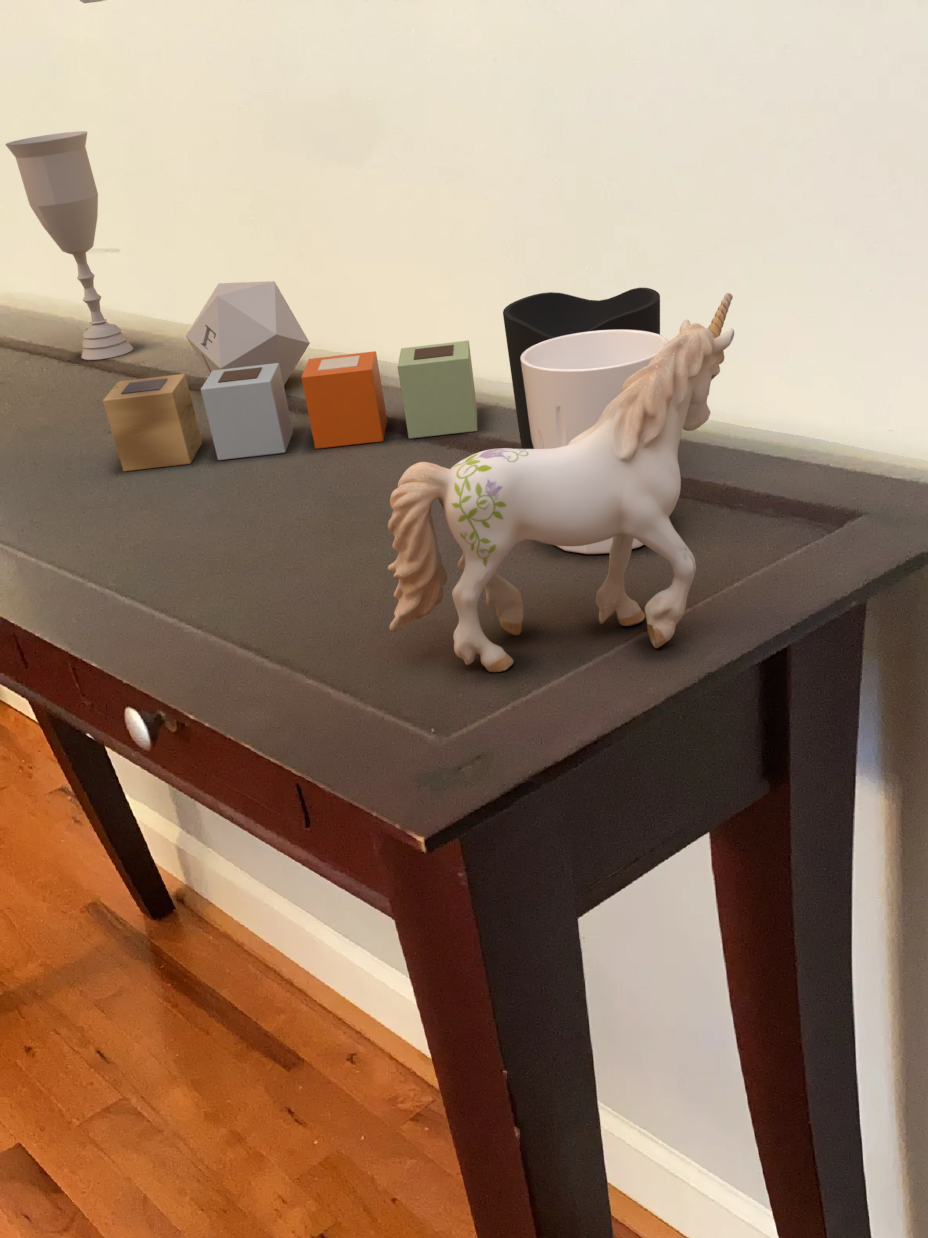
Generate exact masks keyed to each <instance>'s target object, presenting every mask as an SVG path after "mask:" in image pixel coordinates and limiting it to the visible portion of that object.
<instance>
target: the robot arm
mask: <svg viewBox="0 0 928 1238" xmlns="http://www.w3.org/2000/svg"><path fill="white" fill-rule="evenodd" d="M105 1H106V0H79V2H81V3H82V4H92V3H98V2H105Z"/></svg>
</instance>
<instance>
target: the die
mask: <svg viewBox="0 0 928 1238" xmlns="http://www.w3.org/2000/svg"><path fill="white" fill-rule="evenodd" d="M185 338H186V340H187V341H188V342H189V344H190V346H191V347H192V349H193V350H194V352H195V354H196V355H197V357H198V359H199V360H200V361H201V363H202V365H203V366H204V368H205V370H206V371H207V372H208V374H209V375H210V374H211V372H212V371H213V370H222V369H230V368H239V367H247V366H256V365H264V364H273V363H279V365H280V370H281V375H282V380H283V385H284V386H285V384H286V383H287V381H288V379H289V378H290V376H292V373H293V372H294V370H295V368H296V366H297V365H298V364H299V362H300V360H301V359H302V358H303V355H304V354H305V352H306V351H307V349H308V347H309V346H310V344H311V342H310V341H309V338H308V337H307V335H306V334H305V332H304V330H303V328H302V327H301V325H300V323H299V321H298V320H297V318H296V316H295V314H294V313H293V311H292V309H291V307H290V305H289V304H288V302H287V301H286V299H285V297H284V295H283V293H282V292H281V290H280V288H279V286H278V285H277V283H276V281H275V280H272V281H271V280H269V281H268V280H267V281H244V282H243V281H239V282H219V283H217V285H216V287H215V288H214V290H213V291H212V293H211V295H210V296H209V298H208V299H207V301H206V303H205V304H204V306H203V308H202V309H201V311H200V313H199V314H198V316H197V317H196V318H195V320H194V321H193V324H192V325H191V326H190V328H189V330H188V331H187V333H186V334H185Z"/></svg>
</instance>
